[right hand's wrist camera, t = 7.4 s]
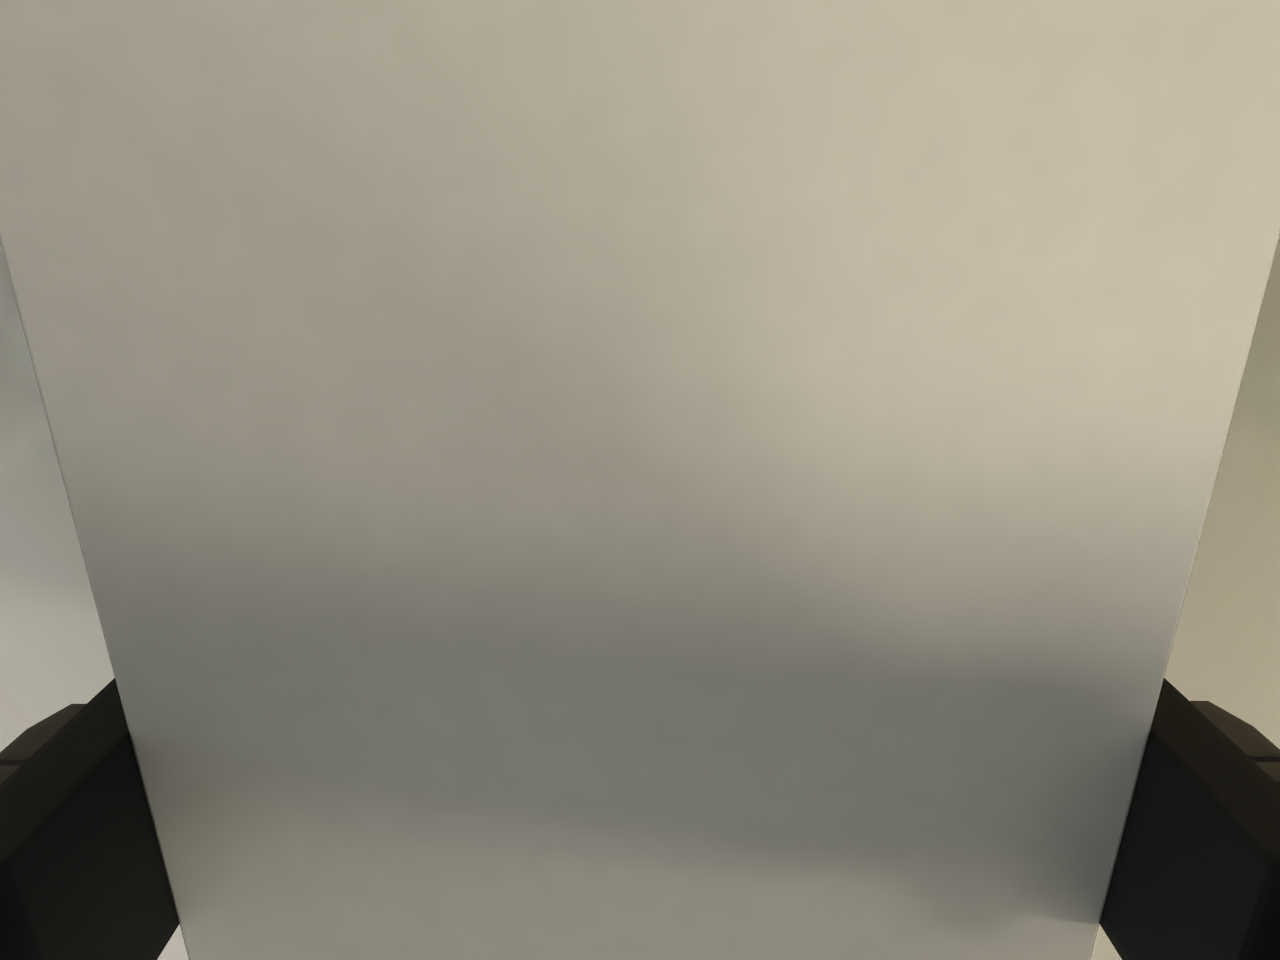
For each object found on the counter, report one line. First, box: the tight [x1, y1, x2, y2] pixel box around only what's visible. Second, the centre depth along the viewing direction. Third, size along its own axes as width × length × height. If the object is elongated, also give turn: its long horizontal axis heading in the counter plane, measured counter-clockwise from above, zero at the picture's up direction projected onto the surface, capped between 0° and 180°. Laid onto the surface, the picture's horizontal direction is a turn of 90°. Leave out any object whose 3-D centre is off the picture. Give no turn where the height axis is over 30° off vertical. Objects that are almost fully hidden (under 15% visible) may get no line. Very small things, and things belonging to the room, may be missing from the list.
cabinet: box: [0, 0, 1280, 960], centre depth 11 cm, size 22×11×10 cm, turn 0°
